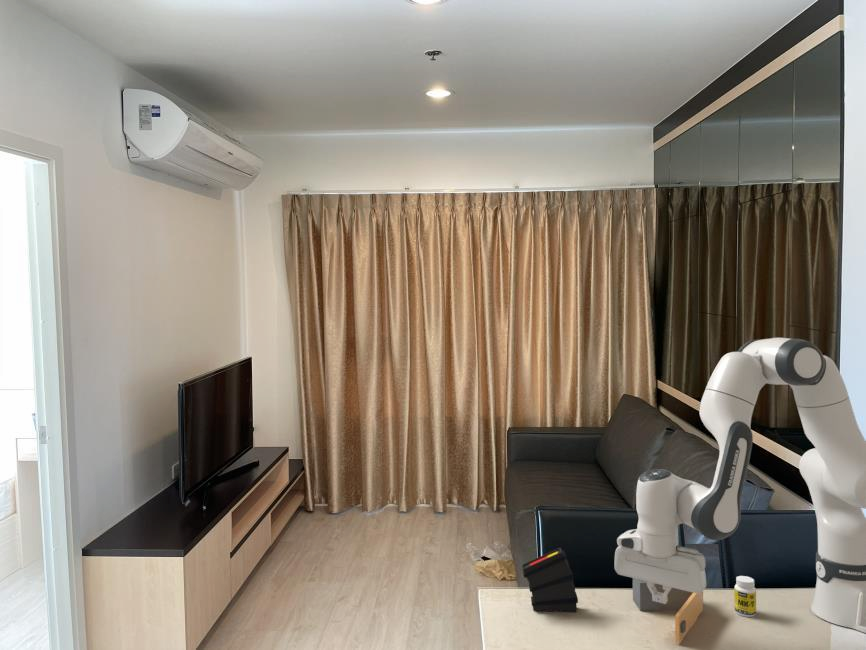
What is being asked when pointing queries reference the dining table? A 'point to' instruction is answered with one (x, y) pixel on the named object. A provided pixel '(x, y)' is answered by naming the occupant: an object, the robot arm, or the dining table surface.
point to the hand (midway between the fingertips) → (659, 601)
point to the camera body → (646, 603)
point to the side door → (688, 615)
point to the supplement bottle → (745, 596)
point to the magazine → (551, 583)
